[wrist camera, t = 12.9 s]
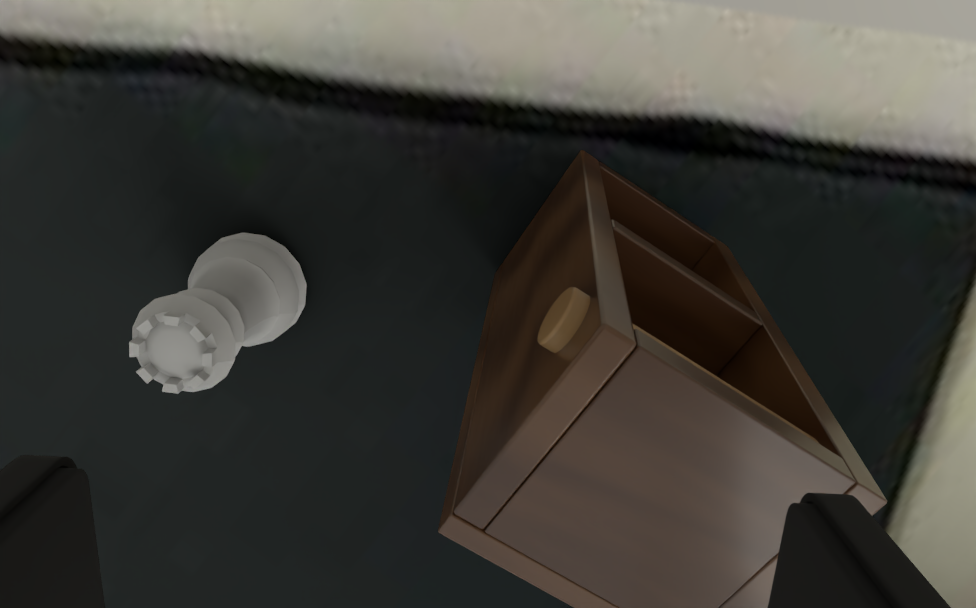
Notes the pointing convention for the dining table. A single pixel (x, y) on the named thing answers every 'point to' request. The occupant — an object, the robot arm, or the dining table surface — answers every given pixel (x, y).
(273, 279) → the rook chess piece
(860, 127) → the dining table surface
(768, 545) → the brown wooden shelf box
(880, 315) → the dining table surface
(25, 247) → the dining table surface
